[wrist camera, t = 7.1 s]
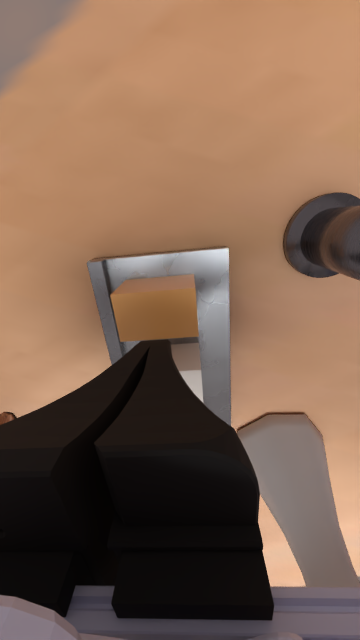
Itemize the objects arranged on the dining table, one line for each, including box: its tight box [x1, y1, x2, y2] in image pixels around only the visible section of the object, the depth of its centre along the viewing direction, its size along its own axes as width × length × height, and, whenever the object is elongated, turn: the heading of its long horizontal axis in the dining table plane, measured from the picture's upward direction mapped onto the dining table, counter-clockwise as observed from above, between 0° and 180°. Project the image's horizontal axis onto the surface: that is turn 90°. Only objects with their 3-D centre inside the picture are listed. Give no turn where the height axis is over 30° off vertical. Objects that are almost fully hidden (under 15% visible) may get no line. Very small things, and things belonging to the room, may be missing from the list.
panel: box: [87, 246, 231, 426], centre depth 16 cm, size 8×14×2 cm, turn 5°
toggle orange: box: [110, 274, 199, 342], centre depth 13 cm, size 4×2×3 cm, turn 96°
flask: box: [237, 414, 360, 587], centre depth 15 cm, size 7×7×10 cm
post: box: [283, 193, 360, 280], centre depth 11 cm, size 4×4×6 cm
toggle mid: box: [171, 343, 203, 402], centre depth 14 cm, size 4×2×3 cm, turn 96°
